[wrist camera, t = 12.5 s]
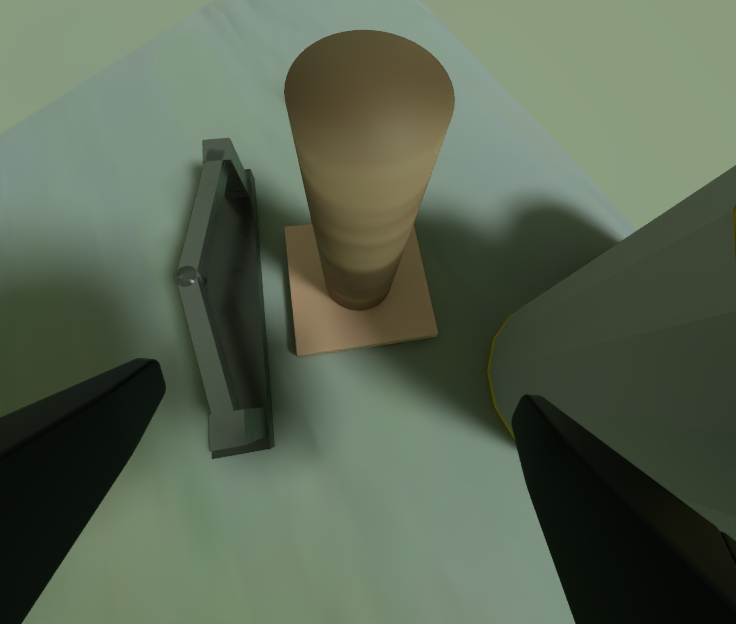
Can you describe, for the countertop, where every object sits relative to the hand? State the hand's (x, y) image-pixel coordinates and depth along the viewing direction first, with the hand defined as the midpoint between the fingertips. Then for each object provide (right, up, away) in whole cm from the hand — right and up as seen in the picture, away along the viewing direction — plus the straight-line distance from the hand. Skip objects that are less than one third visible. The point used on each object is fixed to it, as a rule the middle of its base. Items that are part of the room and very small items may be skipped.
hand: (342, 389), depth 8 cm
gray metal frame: (-7, +3, +13) cm, 15 cm away
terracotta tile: (0, +4, +14) cm, 14 cm away
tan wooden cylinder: (0, +4, +13) cm, 13 cm away
